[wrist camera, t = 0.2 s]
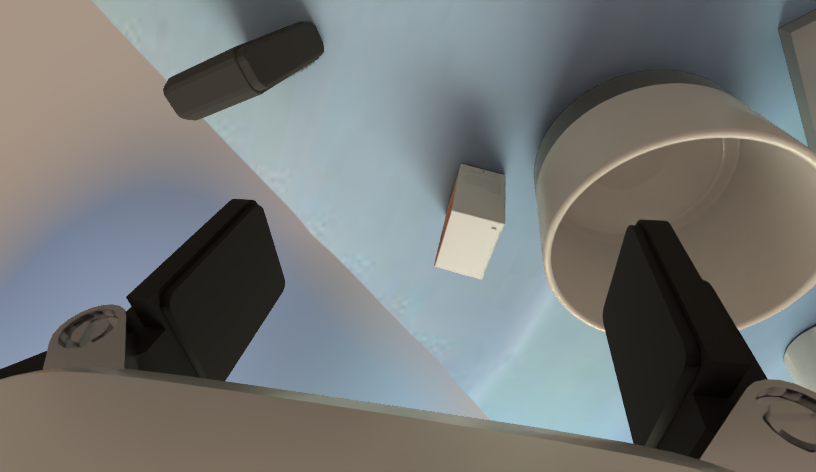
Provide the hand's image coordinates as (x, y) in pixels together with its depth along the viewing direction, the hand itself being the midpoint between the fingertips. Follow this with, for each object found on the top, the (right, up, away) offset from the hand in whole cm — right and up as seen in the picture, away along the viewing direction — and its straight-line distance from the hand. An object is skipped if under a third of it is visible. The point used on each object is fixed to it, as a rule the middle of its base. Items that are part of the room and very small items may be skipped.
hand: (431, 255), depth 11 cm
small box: (+8, +6, +40) cm, 41 cm away
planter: (+23, +9, +34) cm, 42 cm away
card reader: (-14, +21, +34) cm, 43 cm away
